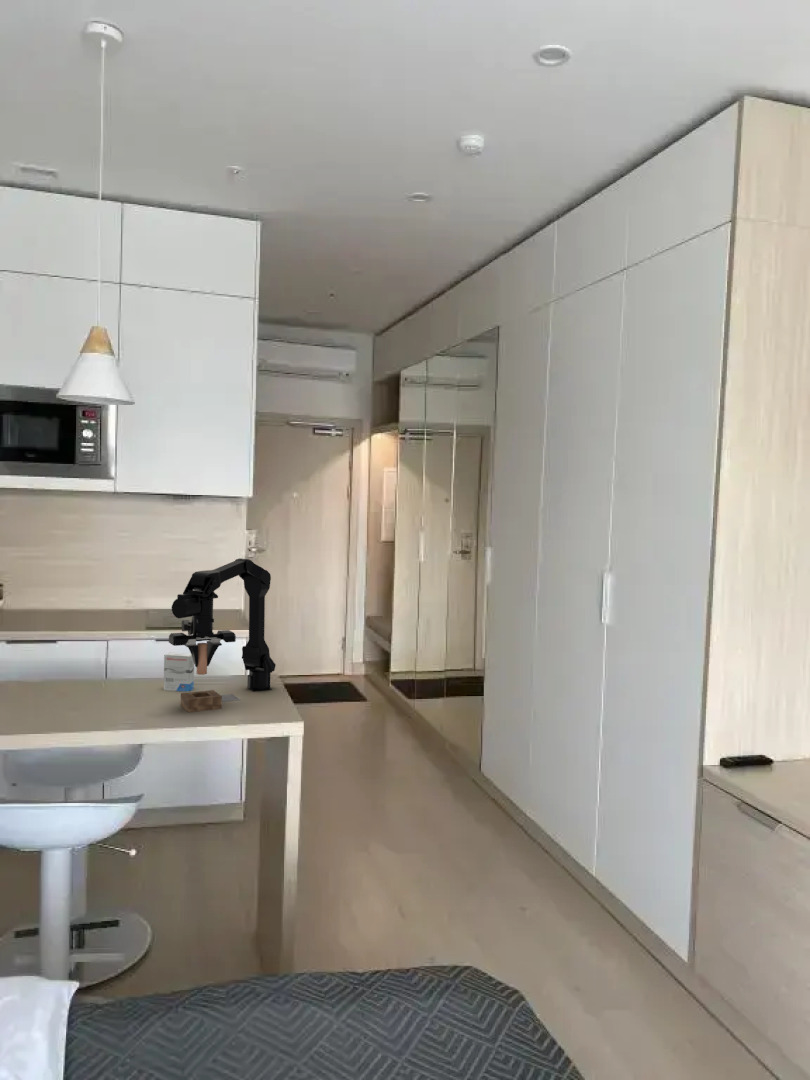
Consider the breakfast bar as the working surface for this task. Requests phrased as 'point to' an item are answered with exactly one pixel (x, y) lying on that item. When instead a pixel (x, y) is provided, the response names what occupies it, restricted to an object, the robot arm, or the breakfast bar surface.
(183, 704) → the hole block
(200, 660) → the peg
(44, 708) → the breakfast bar surface
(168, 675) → the ink box
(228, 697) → the mat
